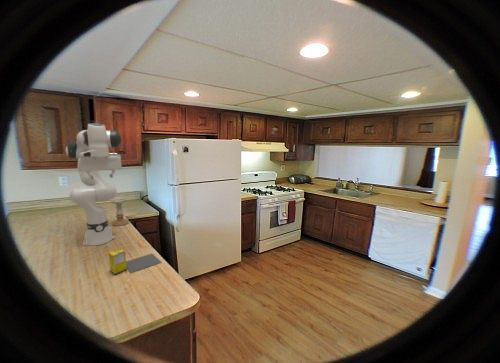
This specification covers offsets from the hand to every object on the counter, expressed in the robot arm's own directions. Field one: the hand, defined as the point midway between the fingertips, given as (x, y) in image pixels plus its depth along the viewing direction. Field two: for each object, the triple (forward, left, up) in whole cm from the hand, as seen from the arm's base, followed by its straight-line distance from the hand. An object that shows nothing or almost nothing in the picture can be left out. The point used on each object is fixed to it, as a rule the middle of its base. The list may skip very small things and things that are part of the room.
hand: (101, 178), depth 124 cm
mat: (+19, +12, -48) cm, 53 cm away
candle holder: (-60, +20, -48) cm, 79 cm away
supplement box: (+19, 0, -48) cm, 51 cm away
